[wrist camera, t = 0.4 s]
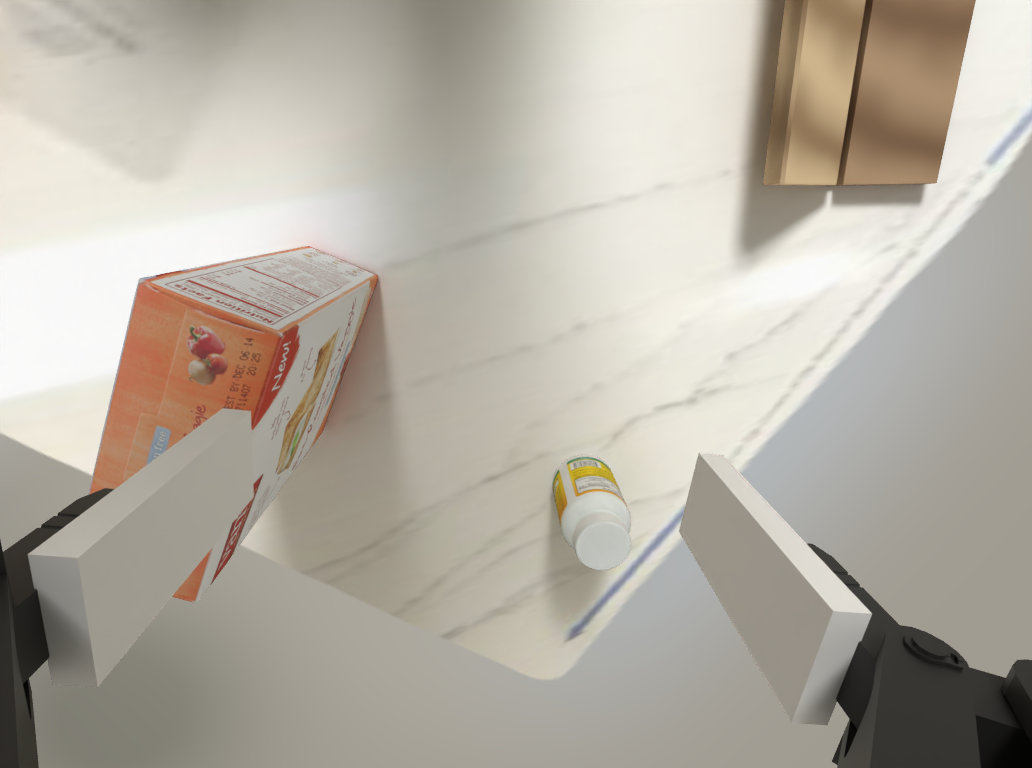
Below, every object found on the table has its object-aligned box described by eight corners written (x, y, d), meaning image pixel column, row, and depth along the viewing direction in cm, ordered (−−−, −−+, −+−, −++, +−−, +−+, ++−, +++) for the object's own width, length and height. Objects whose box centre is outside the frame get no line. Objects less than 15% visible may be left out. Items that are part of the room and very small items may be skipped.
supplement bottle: (584, 441, 45) (608, 498, 36) (624, 480, 47) (657, 545, 38) (538, 481, 46) (550, 547, 37) (579, 518, 48) (600, 591, 39)
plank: (813, -242, 29) (836, -258, 28) (877, -195, 33) (899, -207, 32) (763, 184, 36) (779, 183, 35) (819, 185, 40) (836, 184, 39)
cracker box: (328, 432, 44) (196, 614, 24) (256, 405, 43) (56, 572, 23) (386, 275, 40) (285, 337, 20) (308, 242, 39) (123, 274, 19)
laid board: (883, -193, 33) (897, -208, 32) (1001, -192, 33) (1019, -206, 32) (825, 185, 40) (835, 184, 39) (923, 183, 40) (936, 183, 39)
